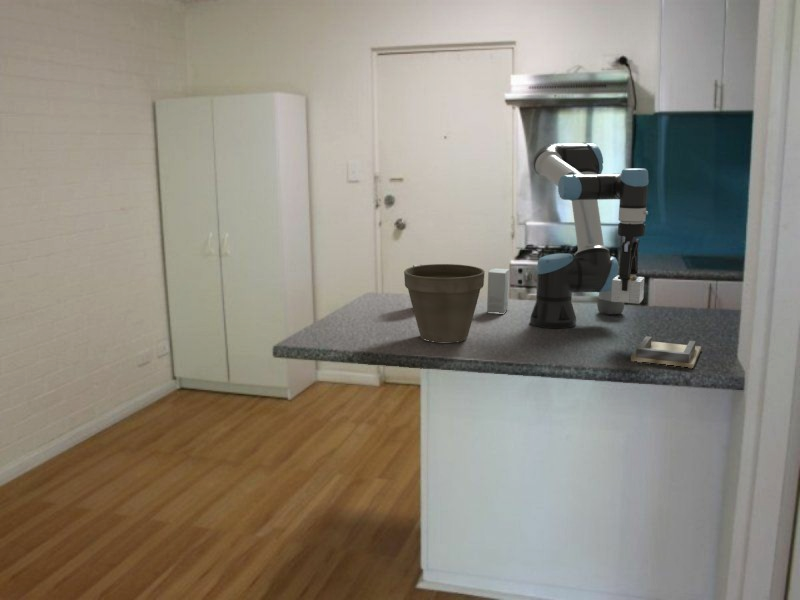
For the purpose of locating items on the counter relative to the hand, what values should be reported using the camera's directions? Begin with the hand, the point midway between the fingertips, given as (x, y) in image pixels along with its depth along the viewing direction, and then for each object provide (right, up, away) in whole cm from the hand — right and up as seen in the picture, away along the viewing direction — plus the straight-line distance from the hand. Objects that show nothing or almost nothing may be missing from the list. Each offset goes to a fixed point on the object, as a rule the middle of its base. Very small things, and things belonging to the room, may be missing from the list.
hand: (627, 298), depth 215 cm
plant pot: (-54, -13, +11) cm, 57 cm away
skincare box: (-32, -5, +47) cm, 58 cm away
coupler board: (+8, -16, -11) cm, 21 cm away
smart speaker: (+8, -6, +43) cm, 44 cm away
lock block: (0, 0, 0) cm, 0 cm away
